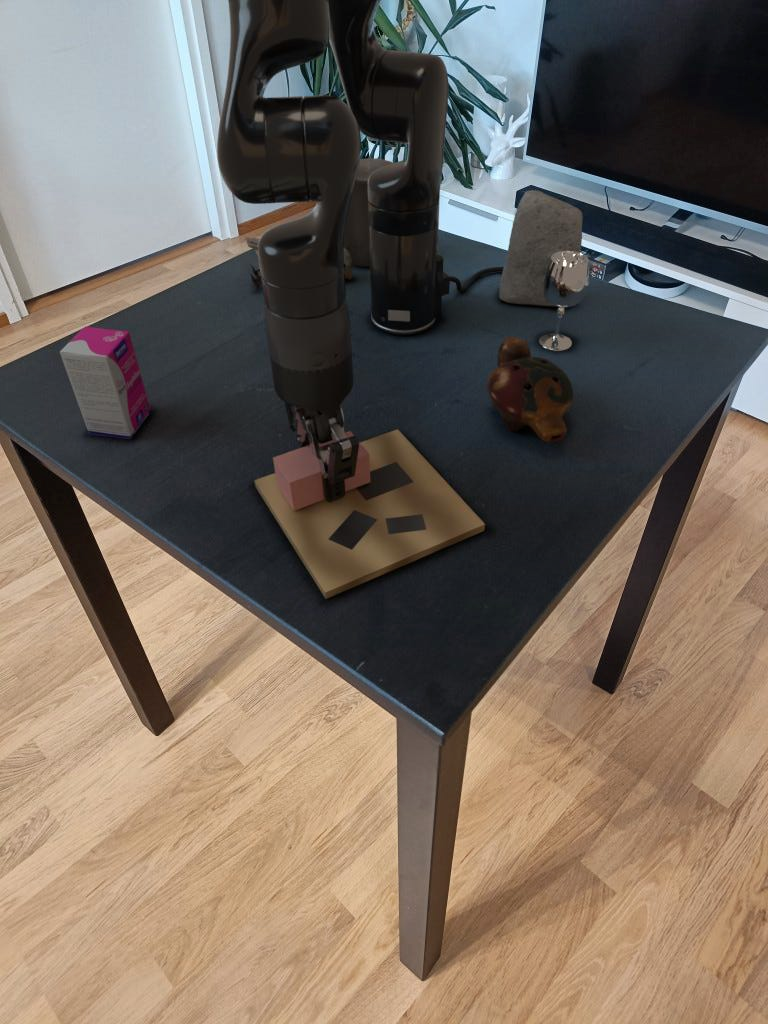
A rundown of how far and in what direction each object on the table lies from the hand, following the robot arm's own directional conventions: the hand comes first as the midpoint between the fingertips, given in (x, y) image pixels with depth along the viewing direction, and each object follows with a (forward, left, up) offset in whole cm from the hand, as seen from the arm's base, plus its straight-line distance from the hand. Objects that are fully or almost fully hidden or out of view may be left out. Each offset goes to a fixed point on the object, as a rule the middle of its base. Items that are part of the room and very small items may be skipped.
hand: (324, 483), depth 76 cm
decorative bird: (-18, -46, -2) cm, 49 cm away
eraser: (0, 0, 0) cm, 0 cm away
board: (-3, +4, -1) cm, 5 cm away
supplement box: (+16, -24, -2) cm, 29 cm away
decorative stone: (-46, -23, -2) cm, 51 cm away
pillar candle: (-32, -49, -2) cm, 58 cm away
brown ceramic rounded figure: (-27, 0, -2) cm, 27 cm away
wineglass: (-41, -12, -2) cm, 42 cm away
